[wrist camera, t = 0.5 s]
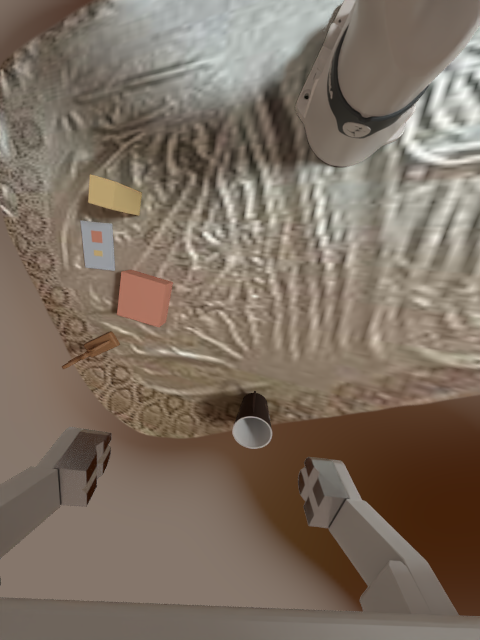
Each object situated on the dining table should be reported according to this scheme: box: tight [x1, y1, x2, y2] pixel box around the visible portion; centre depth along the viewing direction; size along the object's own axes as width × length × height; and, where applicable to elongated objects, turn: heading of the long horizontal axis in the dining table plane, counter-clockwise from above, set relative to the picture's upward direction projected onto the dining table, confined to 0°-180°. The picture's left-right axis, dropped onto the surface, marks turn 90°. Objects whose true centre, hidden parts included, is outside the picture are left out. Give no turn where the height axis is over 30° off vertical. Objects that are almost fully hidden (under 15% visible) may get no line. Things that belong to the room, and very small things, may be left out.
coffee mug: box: [233, 391, 272, 449], centre depth 56 cm, size 12×9×10 cm
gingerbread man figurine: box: [62, 332, 120, 369], centre depth 55 cm, size 9×4×12 cm, turn 115°
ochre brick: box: [88, 174, 142, 216], centre depth 45 cm, size 4×4×9 cm
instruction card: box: [81, 221, 115, 271], centre depth 53 cm, size 10×7×1 cm
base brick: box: [117, 270, 173, 327], centre depth 54 cm, size 10×10×4 cm
